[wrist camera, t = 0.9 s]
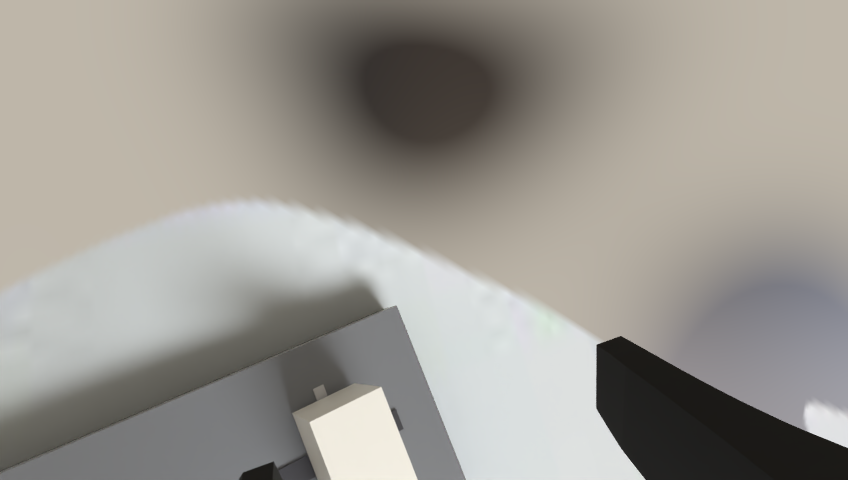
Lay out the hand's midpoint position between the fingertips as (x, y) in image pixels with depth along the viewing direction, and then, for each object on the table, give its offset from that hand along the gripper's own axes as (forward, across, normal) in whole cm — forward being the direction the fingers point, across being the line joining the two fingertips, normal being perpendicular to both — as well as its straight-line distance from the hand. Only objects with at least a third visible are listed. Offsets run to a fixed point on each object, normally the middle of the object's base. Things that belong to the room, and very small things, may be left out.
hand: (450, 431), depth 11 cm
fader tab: (+9, +3, +10) cm, 14 cm away
